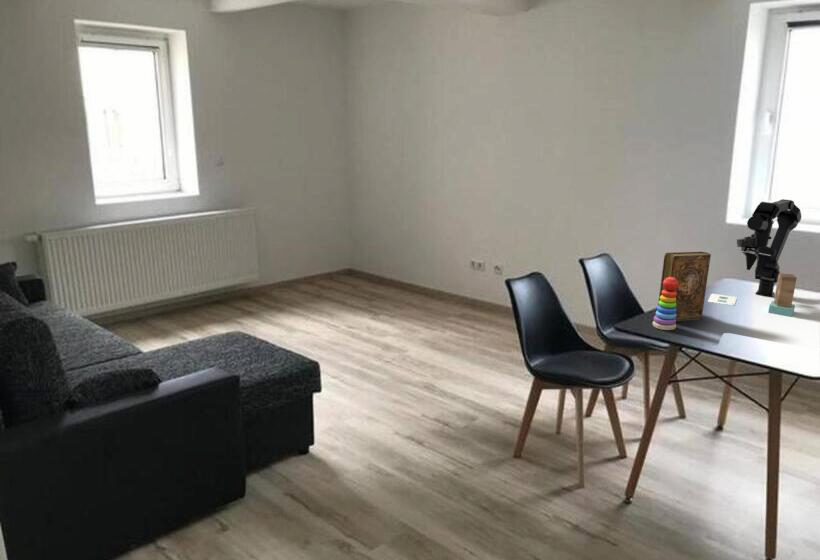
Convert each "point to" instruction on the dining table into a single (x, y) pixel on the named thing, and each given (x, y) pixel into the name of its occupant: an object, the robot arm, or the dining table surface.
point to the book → (687, 282)
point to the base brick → (781, 309)
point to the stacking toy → (667, 306)
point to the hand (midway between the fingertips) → (752, 270)
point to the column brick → (785, 290)
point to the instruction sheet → (722, 299)
